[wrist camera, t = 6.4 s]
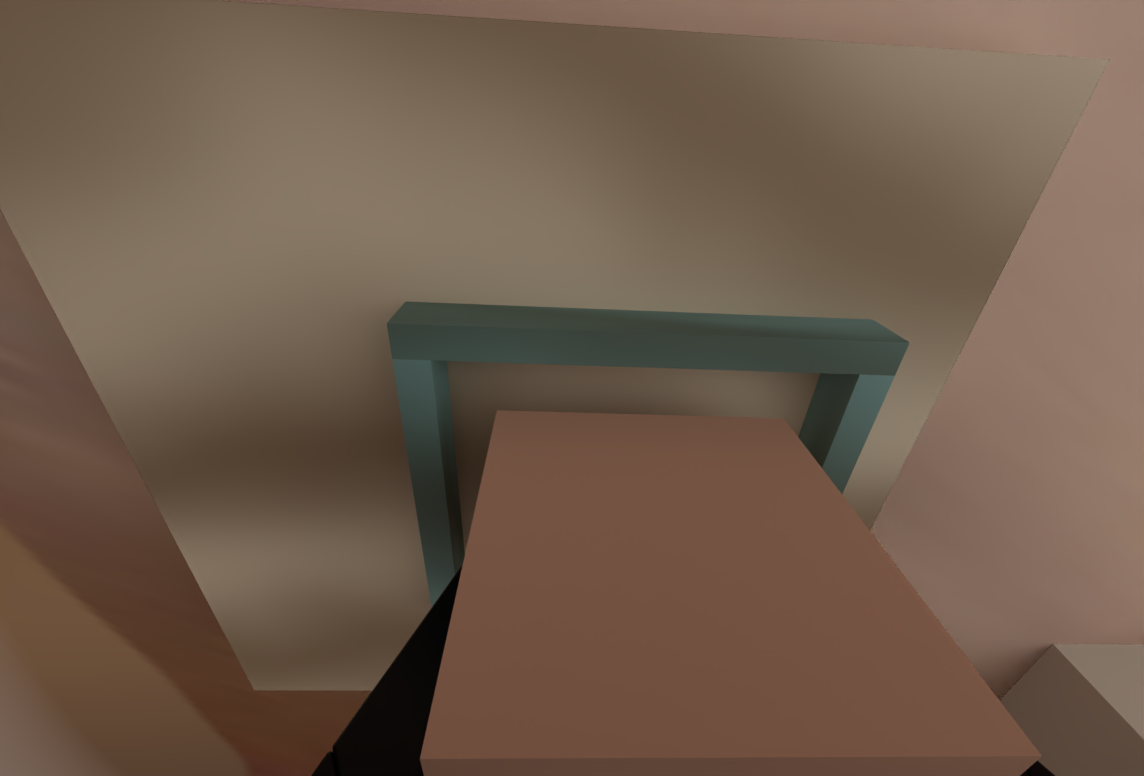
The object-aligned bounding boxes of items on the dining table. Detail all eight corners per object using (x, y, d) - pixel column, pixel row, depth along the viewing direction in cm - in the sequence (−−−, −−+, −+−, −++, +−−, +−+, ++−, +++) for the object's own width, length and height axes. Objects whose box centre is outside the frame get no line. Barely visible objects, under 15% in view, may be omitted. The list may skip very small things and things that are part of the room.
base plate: (772, 652, 15) (802, 728, 13) (276, 649, 15) (233, 728, 13) (1033, 68, 7) (1195, 48, 6) (-17, 0, 7) (-245, -49, 5)
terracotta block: (724, 601, 11) (839, 934, 6) (504, 599, 10) (463, 942, 6) (783, 418, 8) (1042, 756, 4) (496, 410, 8) (420, 757, 4)
